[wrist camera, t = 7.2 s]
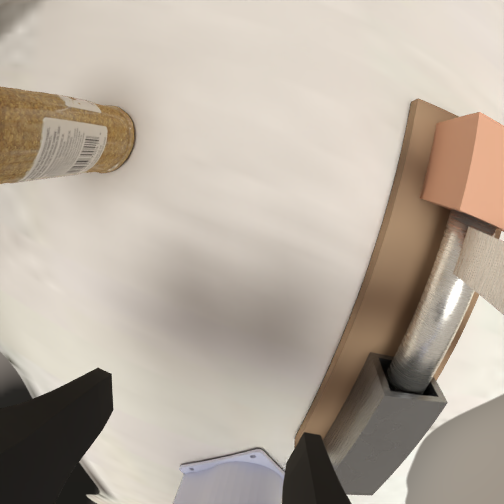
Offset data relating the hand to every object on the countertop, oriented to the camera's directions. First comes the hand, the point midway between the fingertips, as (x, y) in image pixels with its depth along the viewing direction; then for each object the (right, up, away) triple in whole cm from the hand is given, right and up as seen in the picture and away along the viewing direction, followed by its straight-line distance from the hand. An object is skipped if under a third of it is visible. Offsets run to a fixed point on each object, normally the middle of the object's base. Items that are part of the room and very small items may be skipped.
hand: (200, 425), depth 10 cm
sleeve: (+10, -5, +10) cm, 15 cm away
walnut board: (+12, +2, +9) cm, 15 cm away
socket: (+14, +11, +5) cm, 18 cm away
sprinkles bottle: (-8, +13, +9) cm, 18 cm away
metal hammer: (+12, +4, +6) cm, 14 cm away
